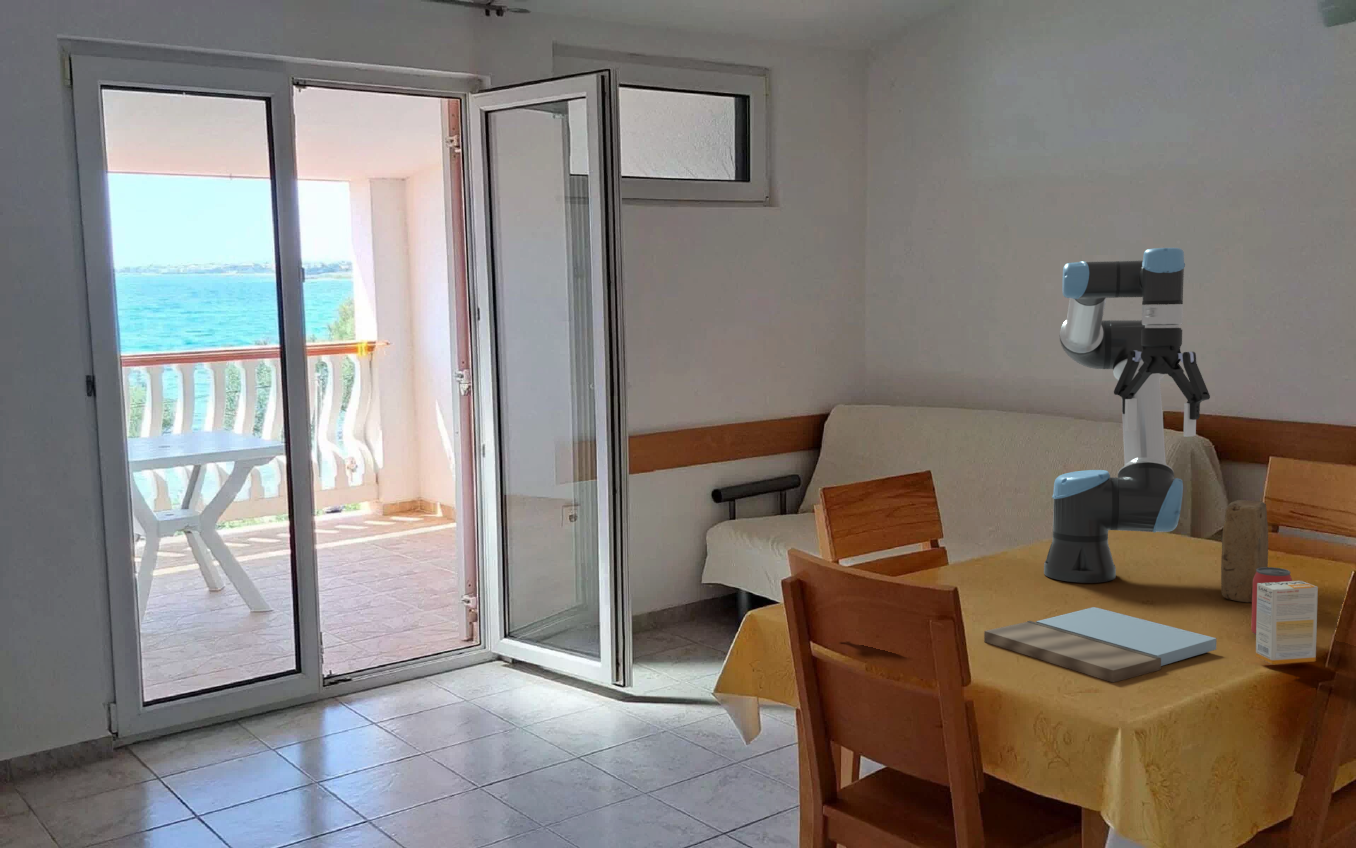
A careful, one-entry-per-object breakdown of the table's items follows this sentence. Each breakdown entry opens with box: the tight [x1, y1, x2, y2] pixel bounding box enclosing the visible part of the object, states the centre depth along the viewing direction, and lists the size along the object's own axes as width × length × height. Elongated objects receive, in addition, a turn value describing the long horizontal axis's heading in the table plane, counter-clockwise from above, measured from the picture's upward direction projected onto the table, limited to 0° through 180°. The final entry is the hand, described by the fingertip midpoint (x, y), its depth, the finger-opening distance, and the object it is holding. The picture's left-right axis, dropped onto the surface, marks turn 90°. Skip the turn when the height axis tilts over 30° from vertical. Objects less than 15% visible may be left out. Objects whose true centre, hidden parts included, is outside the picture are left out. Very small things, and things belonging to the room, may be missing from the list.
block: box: [1220, 499, 1269, 603], centre depth 240 cm, size 11×8×20 cm
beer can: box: [1250, 566, 1293, 636], centre depth 213 cm, size 7×7×12 cm
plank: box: [1035, 606, 1217, 667], centre depth 210 cm, size 26×16×2 cm, turn 31°
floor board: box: [983, 620, 1162, 683], centre depth 203 cm, size 28×12×2 cm, turn 31°
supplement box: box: [1255, 580, 1319, 665], centre depth 198 cm, size 8×5×13 cm, turn 97°
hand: (1159, 433), depth 233 cm, fingers open, 13 cm apart
